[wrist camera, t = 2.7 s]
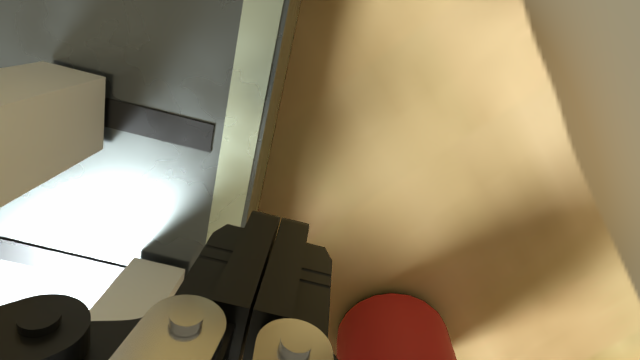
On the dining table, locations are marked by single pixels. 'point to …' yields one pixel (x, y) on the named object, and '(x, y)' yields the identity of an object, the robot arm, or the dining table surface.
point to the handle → (137, 290)
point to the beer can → (393, 331)
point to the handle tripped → (46, 123)
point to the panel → (146, 134)
